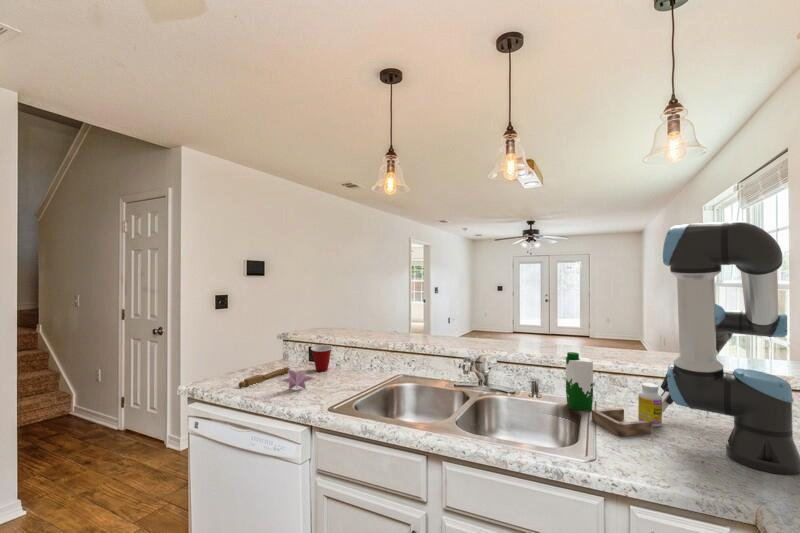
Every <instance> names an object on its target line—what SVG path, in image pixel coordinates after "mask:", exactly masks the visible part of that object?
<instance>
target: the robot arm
mask: <svg viewBox="0 0 800 533" xmlns="http://www.w3.org/2000/svg"><path fill="white" fill-rule="evenodd" d="M662 262H663V265H664V266H667V267H668V266H669V270H670V273H671V274H672V275H674V276H675V277H676V283H677V284H676V288H677V292H676V293H677V314H678V315H677V316H678V344H679V349H678V350H679V356H678V357H677V358H675V359H674V360H673V364H671V365H668V366H667V372H666V374H665V376H664V379H663V381H662V383H661V385H660V389H661V390H662V391H663V392H662V394H660V395H661V396H662V413H664V412H665V411H666V409H667V408H668V407H669V406H670V405H672V404H673V403H674V404H676V405H678V406H681V407H685V408H689V409H691V410H698V411H702V412H703V411H704V412H708V413H714V414H719V415H725V416H729V417H733V428H732V430H731V432H730V435H729V437H728V439H727V441H726V444H725V453H726V455H727V456H728V457H729V458H730V459H732V460H733V461H735V462H737V463H739V464H742V465H744V466H746V467H749V468H752V469H756V470H757V471H758V470H759V471H762V472H766V473H767V472H768V473H771V474H777V475H788V476H789V475H791V476H792V475H798V474H800V454H799V451H798V448H797V445H796V443H795V441H794V438H793V432H794V431H793V428H794V427H793V403H794V398H793V390H792V389H793V388H792V385H791V384H790V383H789V382H788V381H787V380H785V379H784V378H781V377H779V376H777V375H773V374H770V373H766V372H763V371H760V370H759V371H758V370H755V369H750V368H749V369H747V368H746V369H745V368H735V369H734V370H733V371H732V373H730V372H724V365H723V364H722V363H721V362H720V361H719V360H718V359H717V356H718V355H719V353H720V352H721V350H722V349H723V348H724V347H725V345H726V344H727V343H728V342H729V341H730V340H731V339H732V337H733V335H734V334H735V335H745V336H746V335H747V336H757V337H768V338H786V337H787V336H788V315H787V314H786V313H783V312H779V284H778V283H779V282H778V279H779V278H778V275H779V274H778V270H779V269H780V268H781V267H782V264H783V251H782V248H781V246H780V245H779V243H778V242H777V240H776V239H775V238H774V237H773V236H772V235H771V234H770V233H769V232H767V231H766V230H764V229H763V228H761V227H759V226H757V225H756V224H755V225H754V224H752V223H749V222H746V221H739V220H738V221H737V220H732V221H725V222H724V221H722V222H720V221H719V222H706V223H705V222H704V223H686V224H679V225H673V226H671V227H670V228H669V229H668V231H667V232H666V234H665V239H664V243H663V248H662ZM730 265H733V266H734V265H735V267H736V268H737V270H738V271H740V278H741V287H742V294H743V295H742V296H743V303H744V310H733V309H731V310H730V309H724V308H723V306H721V305H719V304H717V303H716V295H715V294H716V293H715V292H716V291H715V288H716V287H715V286H716V285H715V277H716V276H717V275H718V274H720V273H721V272H722V266H730Z"/></svg>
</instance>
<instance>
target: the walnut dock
mask: <svg viewBox="0 0 800 533" xmlns="http://www.w3.org/2000/svg"><path fill="white" fill-rule="evenodd" d="M592 420H593V421H594V423H595V424H597V425H599V426H601V427H602V428H604V429H606V430H607V431H610V432H611V433H613V434H616V435H617V436H619V437H627V436H637V435H645V434H647V435H648V434H653V427H652V422H651V421H649V420H645V421H639V420H636V421H628V422H624V421H623V420H625V409H624V408H622V407H617V408H616V407H615V408H614V407H613V408H603V409H602V408H601V409H592V411H591V421H592ZM593 421H592V422H593ZM620 421H623V422H620Z"/></svg>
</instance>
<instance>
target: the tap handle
mask: <svg viewBox="0 0 800 533" xmlns="http://www.w3.org/2000/svg"><path fill="white" fill-rule="evenodd" d="M288 370H291V368H289V367H288V366H286V367H283V368H279V369H277V370H274V371H271V372H268V373H266V374H261V375H260V374H257V375H254V376H251V377H247V378H244V380H243V381H242V380H241V381H240V382H239V383H238V387H239V388H240V387H243V388H245V387H248V386H249V385H252V386H254V385H253V384H255V385H257V384H256V383H258V384H261V383H263V382H264V381H265V380H268V379H271V378H275V377H279V376H283V375H284V374H289V373H288ZM260 382H261V383H260ZM249 387H250V386H249Z"/></svg>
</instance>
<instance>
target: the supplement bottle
mask: <svg viewBox="0 0 800 533" xmlns="http://www.w3.org/2000/svg"><path fill="white" fill-rule="evenodd" d="M641 388H642V390H640V391H639V392H638V405H637V406H638V408H637V410H638V413H637V414H638V417H637V418H638V421H645V420H649V421H651V422H652V428H653V427H655V428H657V427H661V426H662V424H663V412H662V396H661V395H662V394H660V393H659V392H658V391H659V385H658V384H655V383H650V382H644V383H643V382H642V383H641Z"/></svg>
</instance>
